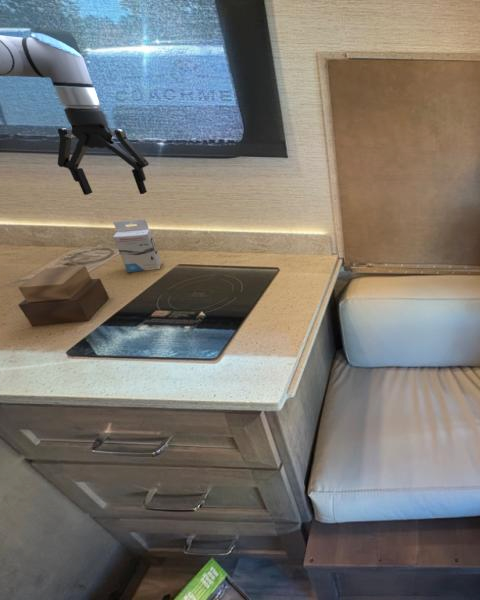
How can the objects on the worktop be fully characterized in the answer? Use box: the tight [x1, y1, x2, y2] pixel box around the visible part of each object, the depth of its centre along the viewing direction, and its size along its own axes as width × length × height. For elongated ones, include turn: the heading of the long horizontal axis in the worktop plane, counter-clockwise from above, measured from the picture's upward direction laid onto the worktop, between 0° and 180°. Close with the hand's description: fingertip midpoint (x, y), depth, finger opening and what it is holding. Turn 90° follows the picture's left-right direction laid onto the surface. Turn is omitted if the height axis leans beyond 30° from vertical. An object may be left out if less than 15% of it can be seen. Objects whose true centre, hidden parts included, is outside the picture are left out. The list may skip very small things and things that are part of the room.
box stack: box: [17, 265, 110, 327], centre depth 80 cm, size 11×11×10 cm
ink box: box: [112, 219, 162, 273], centre depth 101 cm, size 8×5×15 cm, turn 115°
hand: (116, 193), depth 94 cm, fingers open, 13 cm apart
